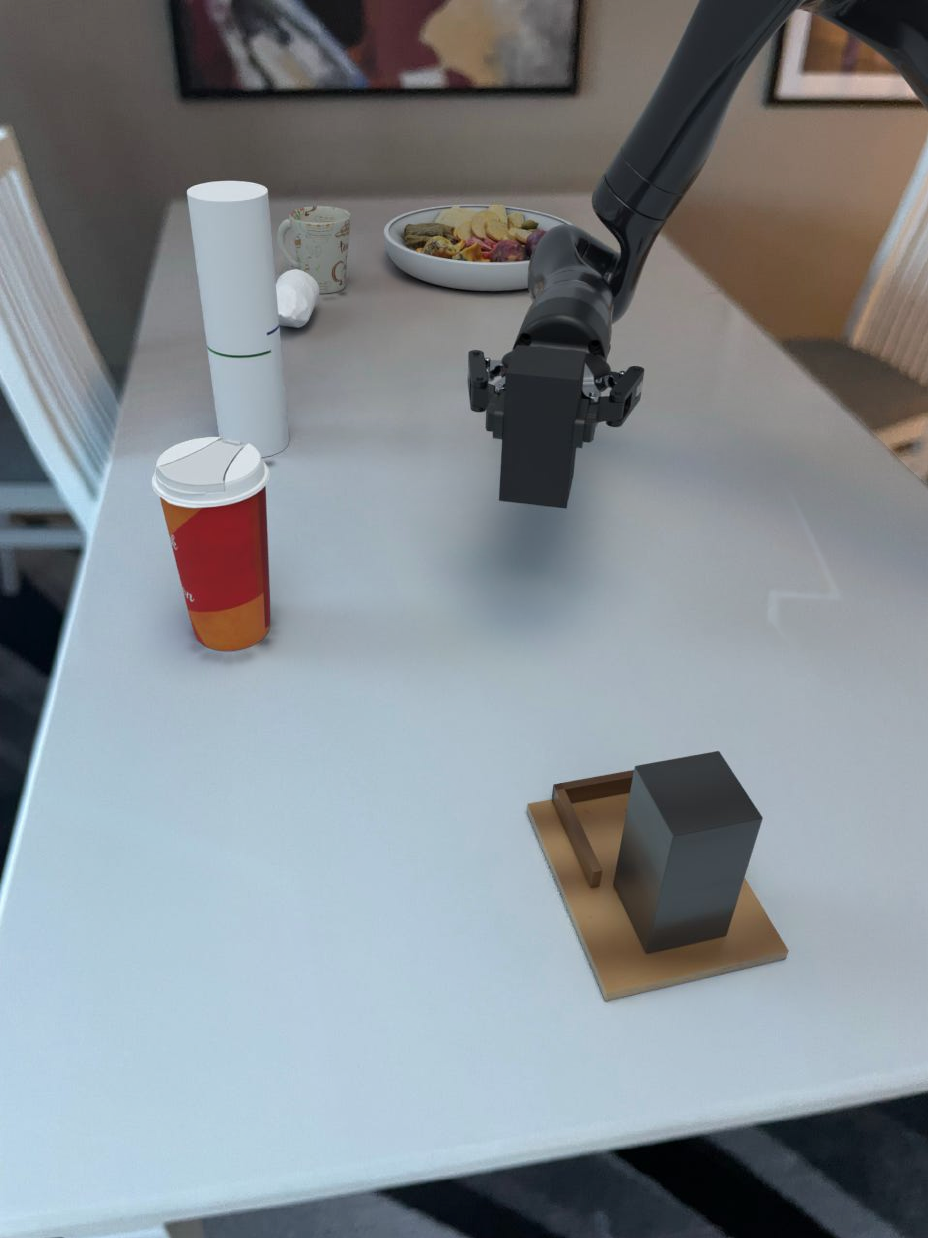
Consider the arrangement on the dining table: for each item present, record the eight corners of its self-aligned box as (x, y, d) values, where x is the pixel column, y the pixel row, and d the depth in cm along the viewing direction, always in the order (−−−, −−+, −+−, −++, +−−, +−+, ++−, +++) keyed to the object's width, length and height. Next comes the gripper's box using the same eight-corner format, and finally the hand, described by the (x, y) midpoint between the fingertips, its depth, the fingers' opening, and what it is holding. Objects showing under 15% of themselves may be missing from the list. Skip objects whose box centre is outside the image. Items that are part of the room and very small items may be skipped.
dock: (526, 811, 65) (538, 686, 58) (681, 783, 67) (709, 659, 61) (605, 1001, 54) (630, 874, 48) (786, 959, 57) (834, 832, 50)
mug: (329, 300, 139) (325, 226, 133) (259, 282, 144) (252, 210, 138) (364, 284, 145) (362, 212, 139) (296, 267, 150) (291, 197, 144)
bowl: (343, 260, 153) (341, 207, 148) (480, 224, 170) (482, 175, 165) (485, 314, 136) (487, 256, 131) (620, 268, 153) (626, 215, 149)
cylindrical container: (302, 435, 106) (283, 187, 91) (264, 464, 101) (237, 205, 86) (245, 421, 109) (218, 176, 93) (206, 448, 103) (170, 194, 88)
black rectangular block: (509, 468, 77) (516, 344, 71) (573, 476, 77) (586, 351, 70) (498, 500, 73) (505, 372, 67) (566, 509, 73) (579, 379, 67)
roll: (260, 341, 126) (256, 297, 123) (277, 308, 136) (273, 266, 133) (307, 343, 126) (304, 299, 123) (321, 309, 136) (318, 268, 133)
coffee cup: (216, 588, 84) (192, 424, 75) (303, 611, 81) (289, 446, 72) (157, 645, 77) (122, 474, 68) (249, 672, 75) (226, 499, 66)
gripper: (480, 287, 81) (437, 370, 68) (658, 303, 79) (649, 391, 66) (477, 374, 86) (436, 467, 72) (645, 391, 84) (635, 490, 70)
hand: (538, 431), depth 69 cm, fingers closed on black rectangular block, 5 cm apart
